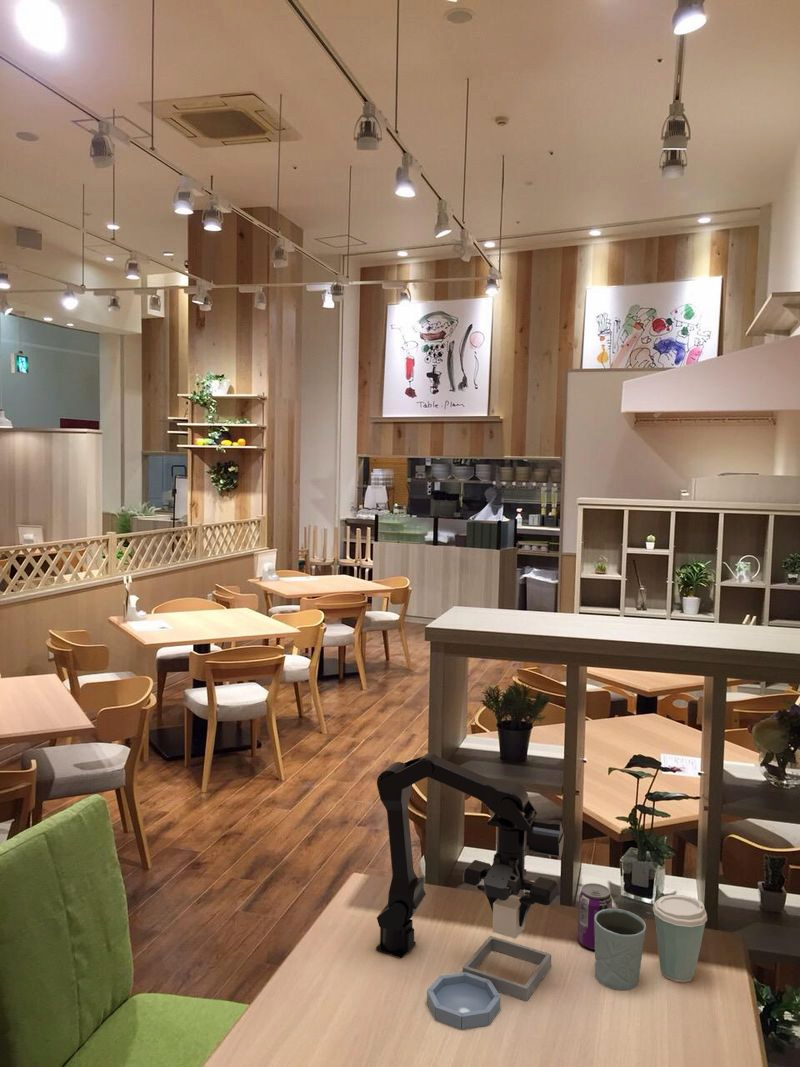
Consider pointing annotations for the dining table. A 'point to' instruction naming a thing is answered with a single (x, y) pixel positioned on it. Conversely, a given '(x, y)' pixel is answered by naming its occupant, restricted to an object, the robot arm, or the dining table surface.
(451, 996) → the ceramic bowl
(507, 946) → the open square frame
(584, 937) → the beverage can
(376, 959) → the dining table surface
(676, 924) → the disposable coffee cup
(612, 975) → the embossed ceramic cup
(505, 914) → the stone block
